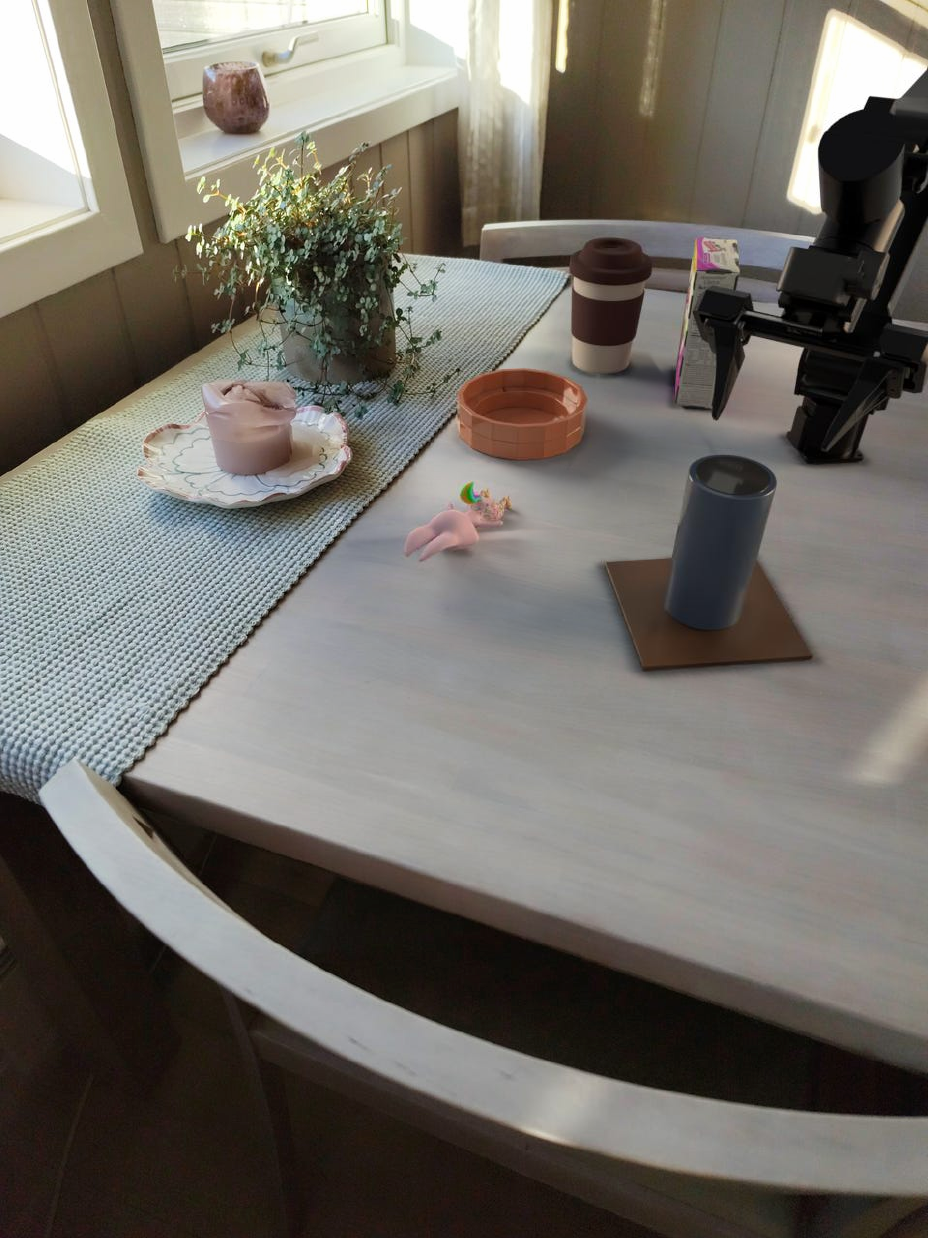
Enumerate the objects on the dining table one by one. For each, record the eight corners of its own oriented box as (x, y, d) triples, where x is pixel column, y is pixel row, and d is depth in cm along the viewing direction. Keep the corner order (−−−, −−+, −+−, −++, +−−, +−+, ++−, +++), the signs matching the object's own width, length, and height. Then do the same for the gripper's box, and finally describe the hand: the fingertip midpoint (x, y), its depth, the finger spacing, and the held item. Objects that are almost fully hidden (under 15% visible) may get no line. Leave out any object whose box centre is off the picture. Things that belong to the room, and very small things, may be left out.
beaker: (672, 575, 78) (697, 446, 69) (747, 592, 76) (782, 462, 68) (656, 619, 73) (681, 487, 65) (735, 638, 71) (771, 505, 63)
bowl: (569, 401, 105) (572, 366, 102) (594, 460, 94) (598, 423, 91) (453, 406, 104) (452, 370, 101) (464, 466, 93) (464, 429, 90)
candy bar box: (673, 368, 112) (695, 235, 102) (712, 371, 111) (738, 238, 101) (671, 407, 104) (695, 267, 93) (714, 411, 103) (742, 270, 92)
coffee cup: (619, 388, 108) (634, 264, 98) (548, 369, 112) (556, 249, 102) (650, 359, 114) (667, 241, 104) (582, 343, 118) (593, 227, 108)
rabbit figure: (470, 510, 89) (383, 563, 78) (475, 455, 86) (385, 503, 75) (522, 528, 87) (441, 586, 75) (530, 473, 83) (446, 525, 72)
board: (751, 557, 81) (752, 553, 80) (811, 659, 70) (813, 655, 70) (604, 566, 80) (604, 561, 79) (642, 671, 69) (643, 666, 69)
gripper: (723, 179, 67) (642, 364, 68) (983, 220, 59) (890, 429, 60) (739, 256, 77) (669, 417, 78) (963, 300, 69) (883, 479, 70)
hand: (767, 433), depth 71 cm, fingers open, 9 cm apart
